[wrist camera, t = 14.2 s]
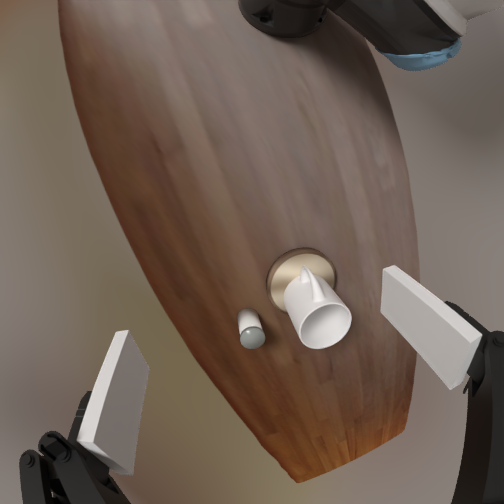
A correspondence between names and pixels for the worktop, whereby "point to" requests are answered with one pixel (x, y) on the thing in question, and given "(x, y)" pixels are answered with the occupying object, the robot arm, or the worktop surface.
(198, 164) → the worktop surface
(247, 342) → the spice jar
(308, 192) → the worktop surface
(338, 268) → the worktop surface
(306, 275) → the mug
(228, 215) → the worktop surface
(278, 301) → the beige flat disc
